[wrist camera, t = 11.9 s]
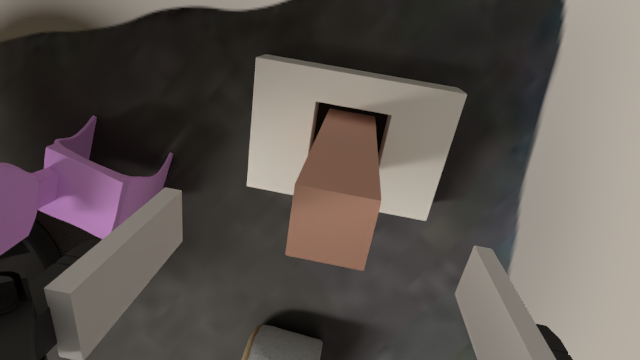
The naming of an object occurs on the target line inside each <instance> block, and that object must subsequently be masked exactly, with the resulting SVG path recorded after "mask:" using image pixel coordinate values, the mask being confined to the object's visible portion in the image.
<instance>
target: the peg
mask: <svg viewBox="0 0 640 360" xmlns="http://www.w3.org/2000/svg"><path fill="white" fill-rule="evenodd" d="M380 205H381V188H380V175H379V161H378V148H377V135H376V121H375V116H370V115H364V114H359V113H353V112H348V111H342V110H336V109H331V108H330V109H329V111H328V113H327V115H326V117H325V119H324V122H323V124H322V126H321V128H320V130H319V133H318V135H317V137H316V139H315V141H314V143H313V146H312V148H311V150H310V152H309V154H308V157H307V159H306V161H305V163H304V165H303V167H302V170H301V172H300V174H299V176H298V178H297V181H296V183H295V186H294V194H293V201H292V209H291V216H290V223H289V231H288V238H287V246H286V253H285V255H288V256H293V257H297V258H302V259H307V260H312V261H317V262H322V263H327V264H332V265H337V266H342V267H346V268H351V269H356V270H361V271H364V267H365V263H366V260H367V256H368V252H369V248H370V244H371V240H372V236H373V232H374V228H375V224H376V221H377V217H378V213H379V209H380Z"/></svg>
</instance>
